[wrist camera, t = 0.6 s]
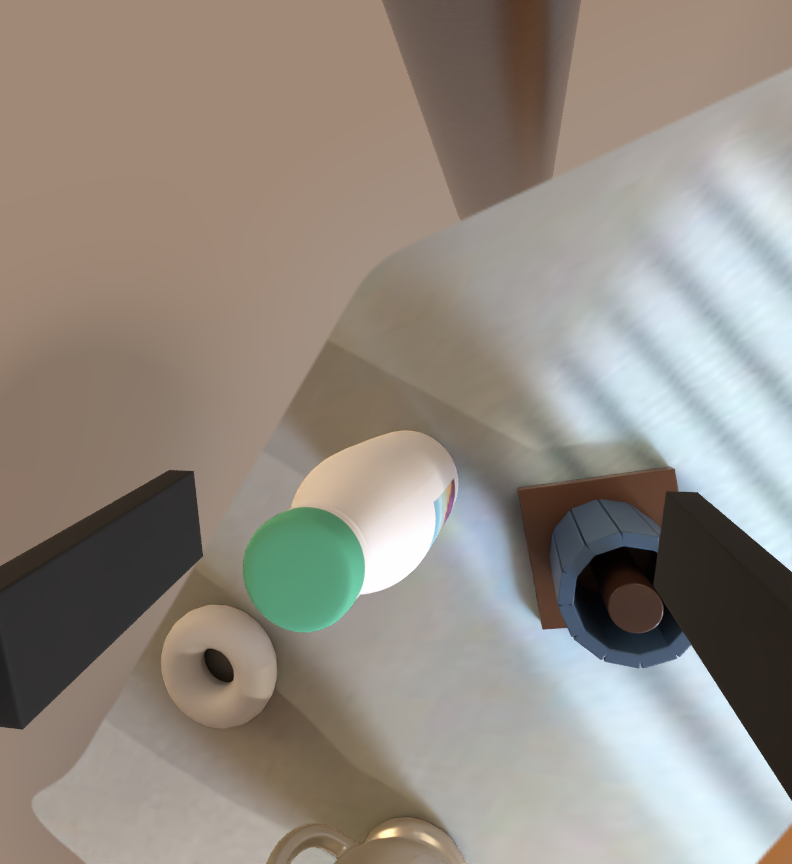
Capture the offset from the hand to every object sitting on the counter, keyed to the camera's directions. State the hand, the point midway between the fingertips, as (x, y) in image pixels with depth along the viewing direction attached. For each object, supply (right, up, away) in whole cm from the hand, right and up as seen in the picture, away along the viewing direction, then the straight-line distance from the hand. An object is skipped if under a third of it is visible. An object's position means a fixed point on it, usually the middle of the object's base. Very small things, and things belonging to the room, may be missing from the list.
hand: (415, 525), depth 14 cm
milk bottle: (0, -1, +24) cm, 24 cm away
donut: (-14, -16, +29) cm, 36 cm away
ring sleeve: (+14, -6, +20) cm, 25 cm away
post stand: (+14, -5, +21) cm, 26 cm away
